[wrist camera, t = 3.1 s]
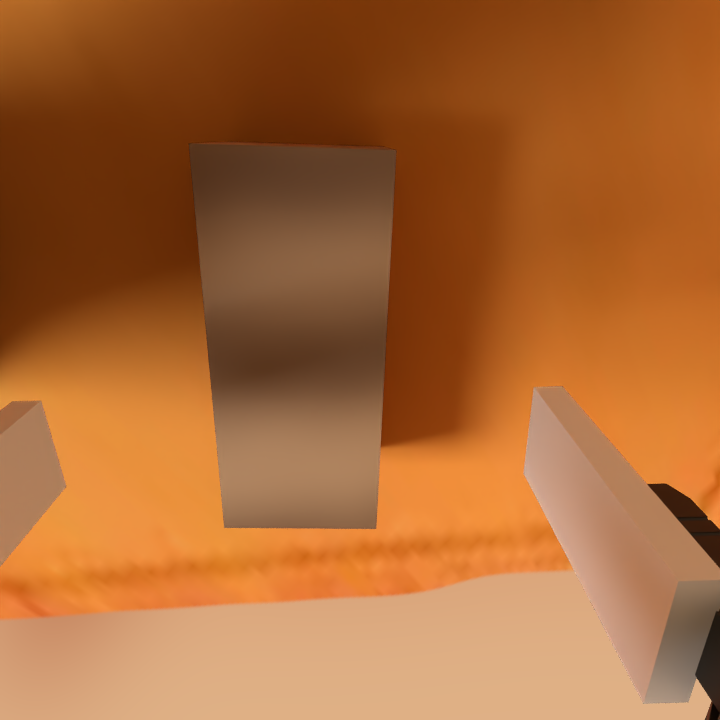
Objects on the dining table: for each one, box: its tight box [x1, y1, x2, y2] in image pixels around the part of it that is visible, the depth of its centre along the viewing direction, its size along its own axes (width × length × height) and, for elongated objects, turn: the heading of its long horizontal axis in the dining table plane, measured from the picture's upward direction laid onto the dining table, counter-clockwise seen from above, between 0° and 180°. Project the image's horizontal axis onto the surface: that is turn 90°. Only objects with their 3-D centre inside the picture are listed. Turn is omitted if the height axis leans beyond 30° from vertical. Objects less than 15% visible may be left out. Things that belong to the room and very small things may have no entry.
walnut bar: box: [189, 142, 396, 529], centre depth 21 cm, size 14×6×6 cm, turn 178°
